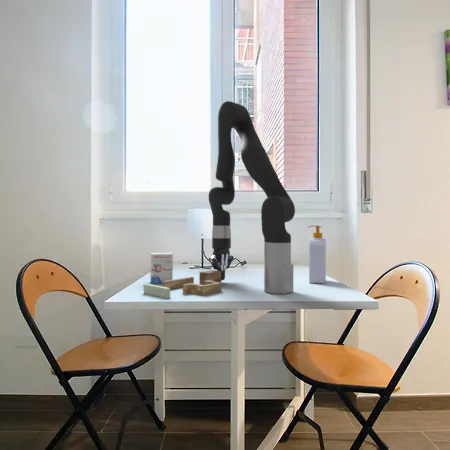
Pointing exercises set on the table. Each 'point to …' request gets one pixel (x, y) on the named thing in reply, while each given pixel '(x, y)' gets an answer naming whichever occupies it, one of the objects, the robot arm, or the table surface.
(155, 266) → the ink box
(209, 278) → the walnut block
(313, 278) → the soap bottle
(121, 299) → the table surface
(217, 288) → the wooden maze walls
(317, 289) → the table surface
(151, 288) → the wall
